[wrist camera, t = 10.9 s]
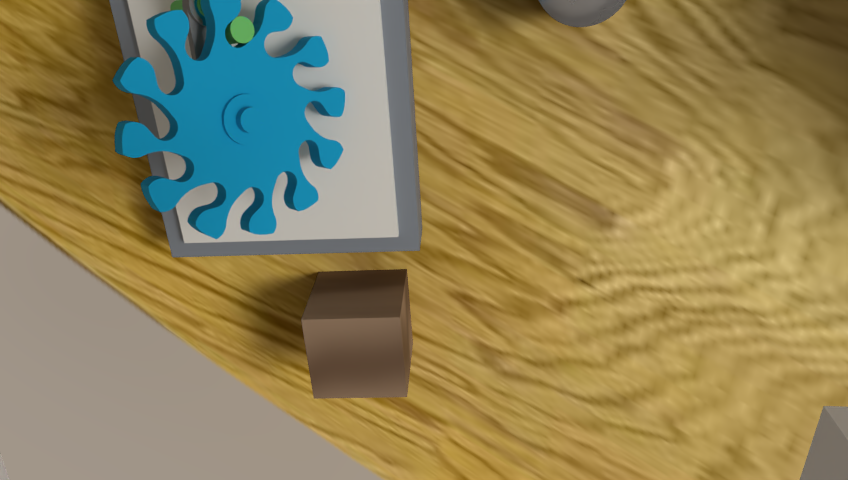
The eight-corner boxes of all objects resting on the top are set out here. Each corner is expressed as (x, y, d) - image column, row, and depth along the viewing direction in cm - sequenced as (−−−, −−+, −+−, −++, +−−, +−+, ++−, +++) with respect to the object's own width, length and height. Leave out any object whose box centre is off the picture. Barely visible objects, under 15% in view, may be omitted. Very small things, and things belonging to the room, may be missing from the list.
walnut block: (319, 271, 40) (301, 319, 35) (406, 268, 39) (399, 317, 35) (329, 344, 42) (314, 398, 37) (412, 342, 41) (407, 396, 37)
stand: (104, -130, 31) (71, -132, 28) (398, -150, 30) (392, -153, 27) (189, 236, 39) (169, 260, 36) (422, 229, 38) (419, 254, 35)
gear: (366, 209, 32) (155, 274, 26) (299, 192, 37) (104, 244, 31) (336, -46, 29) (85, -39, 23) (266, -32, 33) (39, -23, 27)
